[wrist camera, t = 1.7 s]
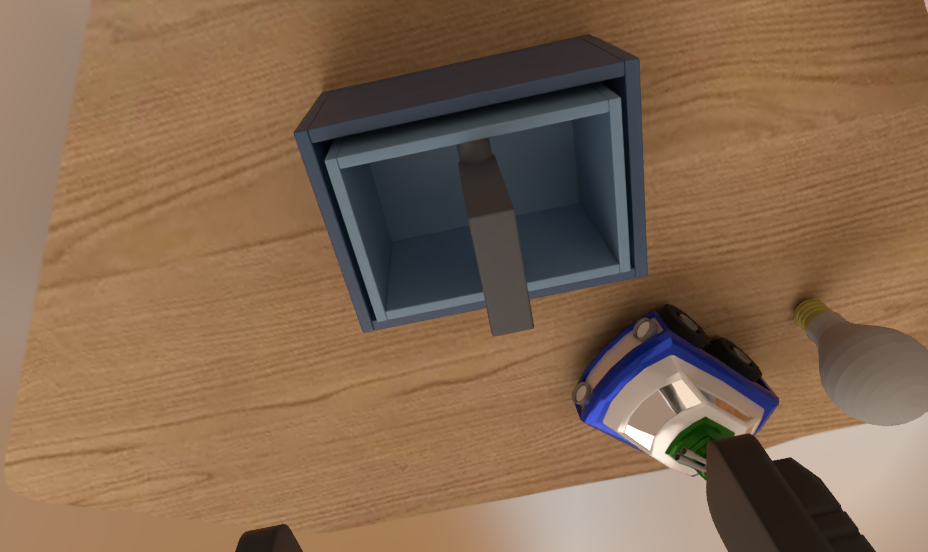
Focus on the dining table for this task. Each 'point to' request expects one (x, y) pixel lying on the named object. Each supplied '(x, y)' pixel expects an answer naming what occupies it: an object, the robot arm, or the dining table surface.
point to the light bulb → (867, 366)
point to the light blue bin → (487, 204)
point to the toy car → (673, 390)
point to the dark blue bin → (462, 92)
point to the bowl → (926, 4)
